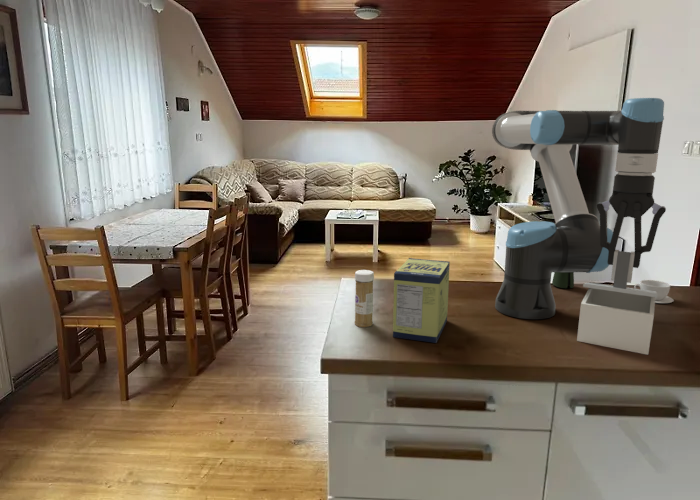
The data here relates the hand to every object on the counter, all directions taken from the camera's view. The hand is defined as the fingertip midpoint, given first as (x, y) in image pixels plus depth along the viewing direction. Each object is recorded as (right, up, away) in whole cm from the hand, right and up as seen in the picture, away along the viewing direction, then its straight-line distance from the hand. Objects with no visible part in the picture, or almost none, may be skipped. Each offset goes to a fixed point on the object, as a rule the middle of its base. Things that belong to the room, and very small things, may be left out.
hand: (621, 279), depth 111 cm
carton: (+1, -13, +5) cm, 14 cm away
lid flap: (+1, -3, +3) cm, 4 cm away
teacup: (+27, -8, +32) cm, 42 cm away
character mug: (+5, -5, +43) cm, 43 cm away
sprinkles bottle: (-57, -12, +11) cm, 59 cm away
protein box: (-43, -13, +9) cm, 46 cm away
